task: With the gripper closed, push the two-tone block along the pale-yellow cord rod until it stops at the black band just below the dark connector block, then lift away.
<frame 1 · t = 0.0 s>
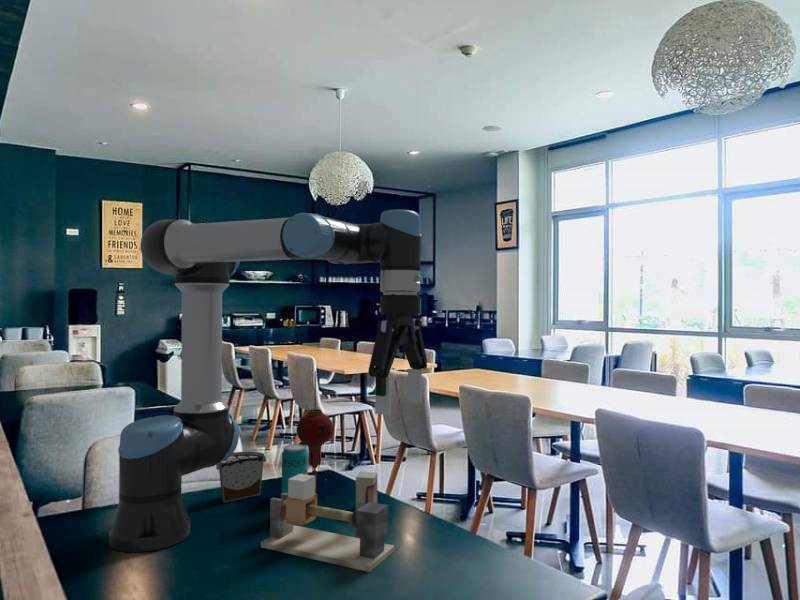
hand: (399, 408, 110), 28 cm above the table, fingers open, 13 cm apart
two-tone block: (301, 498, 117), point 9 cm above the table, slide at 0.0 cm
food container: (237, 496, 146), on the table
small box: (366, 509, 137), on the table
cord rig: (327, 549, 114), on the table
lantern: (314, 489, 151), on the table
beverage can: (294, 514, 133), on the table
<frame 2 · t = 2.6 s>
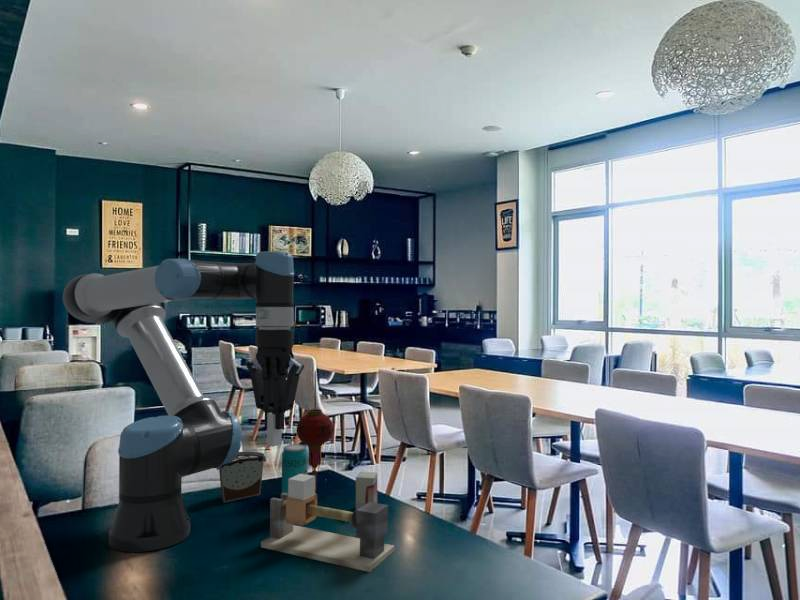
hand: (274, 444, 120), 19 cm above the table, fingers closed
nothing on the table moved.
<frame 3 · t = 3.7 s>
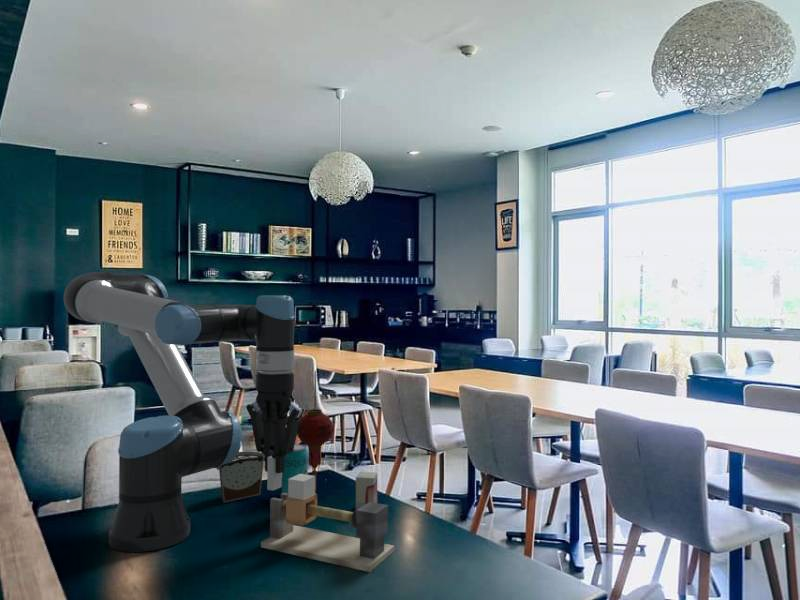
hand: (274, 488, 120), 10 cm above the table, fingers closed
nothing on the table moved.
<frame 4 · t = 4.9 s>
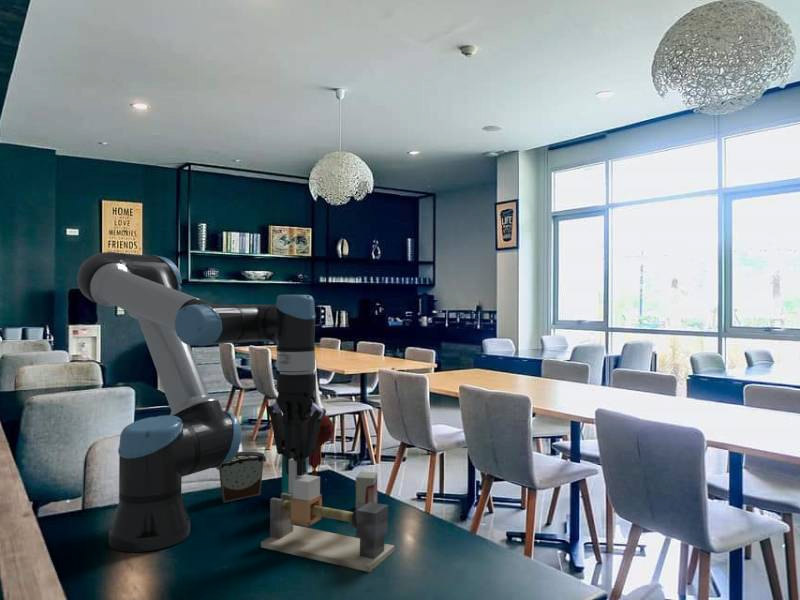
hand: (295, 491, 118), 10 cm above the table, fingers closed
two-tone block: (306, 499, 116), point 9 cm above the table, slide at 1.1 cm, touching gripper
everything else where it was.
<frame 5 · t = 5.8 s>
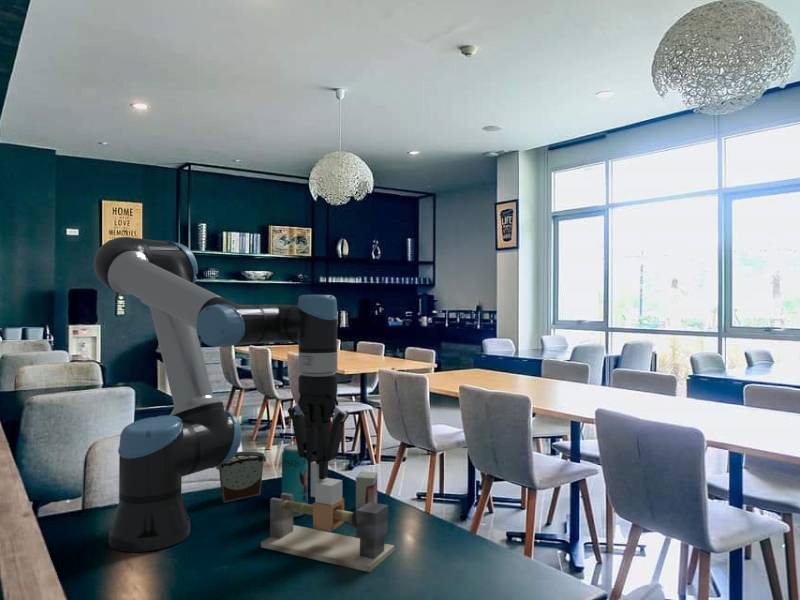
hand: (317, 494, 115), 10 cm above the table, fingers closed
two-tone block: (328, 503, 114), point 9 cm above the table, slide at 6.3 cm, touching gripper
everything else where it was.
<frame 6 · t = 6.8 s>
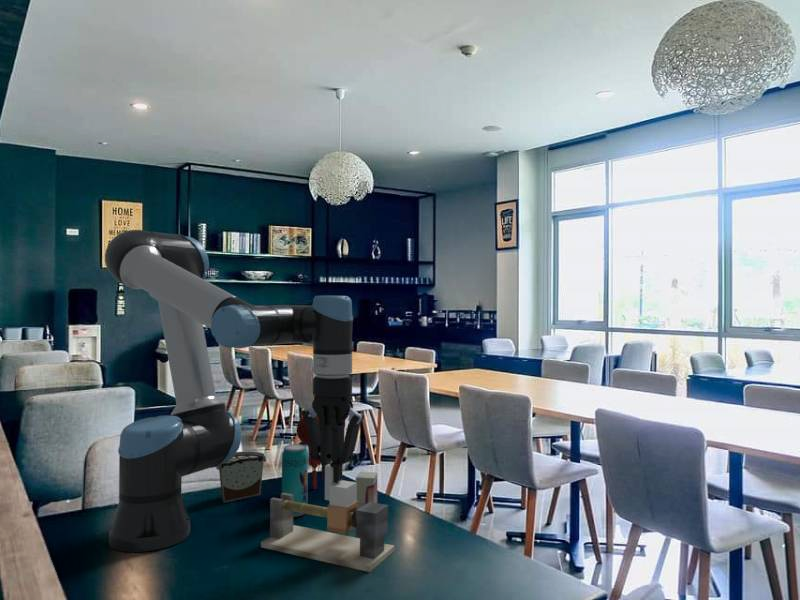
hand: (331, 498, 114), 10 cm above the table, fingers closed
two-tone block: (343, 506, 113), point 9 cm above the table, slide at 9.5 cm, touching gripper
everything else where it was.
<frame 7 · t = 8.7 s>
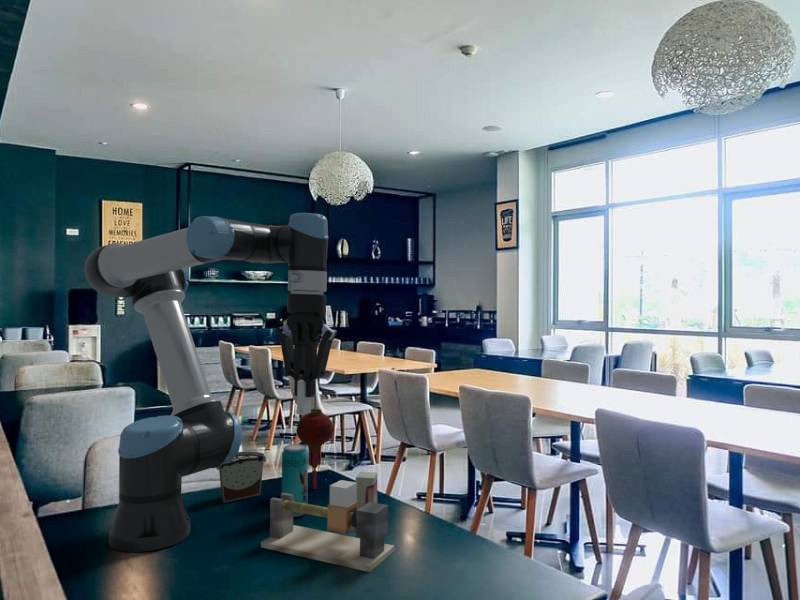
hand: (303, 413, 116), 26 cm above the table, fingers closed
two-tone block: (343, 506, 113), point 9 cm above the table, slide at 9.5 cm
everything else where it was.
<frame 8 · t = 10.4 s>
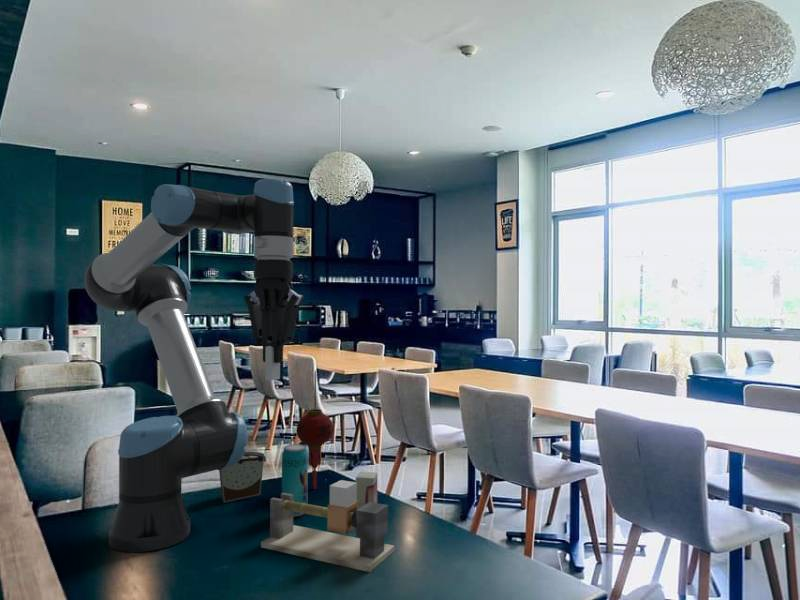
hand: (272, 379, 117), 32 cm above the table, fingers closed
nothing on the table moved.
at the end: two-tone block slide at 9.5 cm; the gripper is holding nothing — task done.
